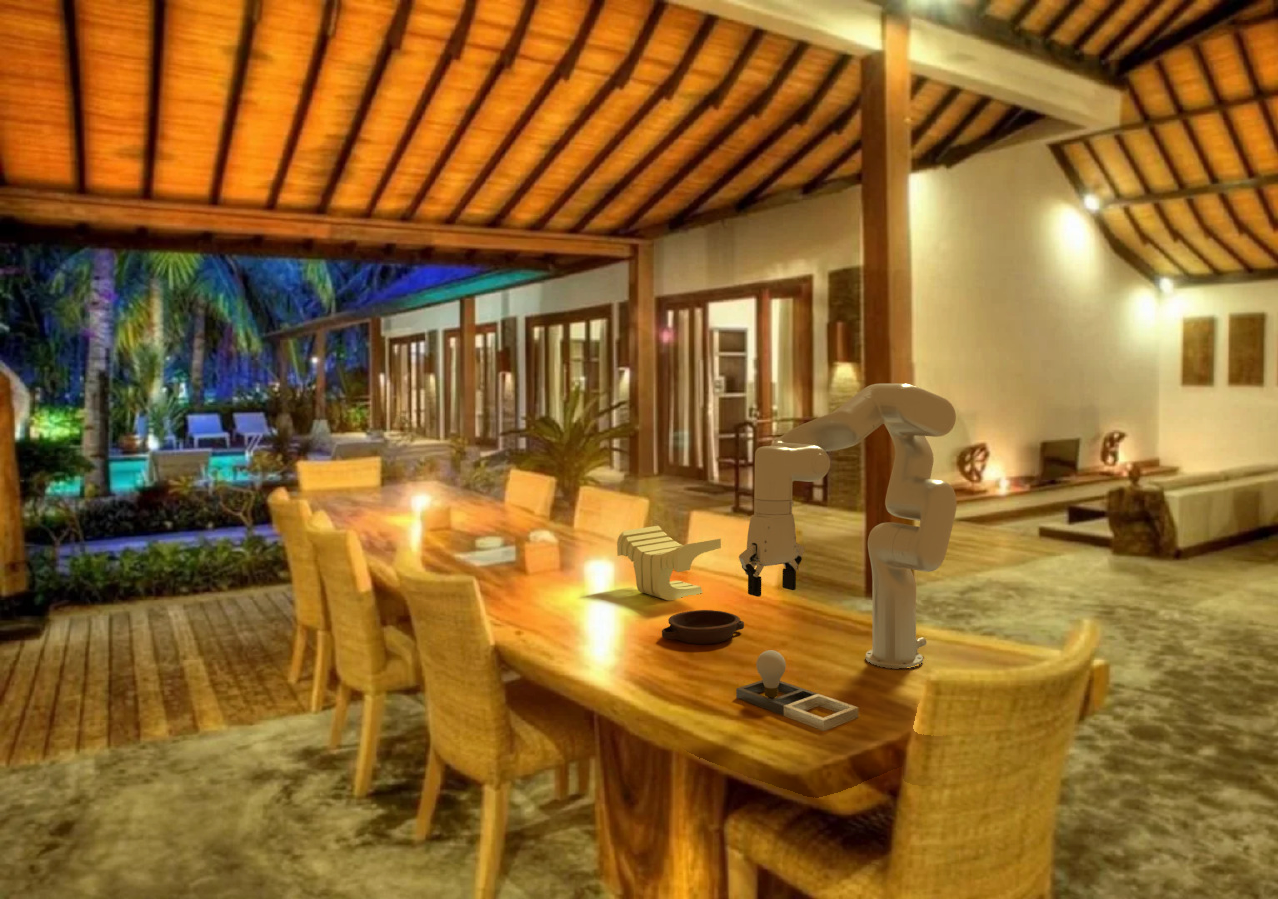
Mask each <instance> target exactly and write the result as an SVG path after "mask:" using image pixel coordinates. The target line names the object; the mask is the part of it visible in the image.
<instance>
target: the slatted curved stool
mask: <svg viewBox="0 0 1278 899" xmlns="http://www.w3.org/2000/svg"><path fill="white" fill-rule="evenodd" d="M721 543H722V539H721V538H716V539H712V540H711V539H710V540H704V541H698V542H692V543H686V544H682V543H679V542H678V541H676V540H674V539H673V538H671V537H670V536H668V534H667V533H666V532H665V531H663V529H662V528H661V526H659V525H654V526H647V527H646V526H645V527H641V528H634V529H626V530H624V531H622V532H621V533H620V534H619V535H618V537H617V541H616V545H617V547H616V549H617V557H619V556H622V557H623V556H624V557H627V558H628V559H629V561H630V562H631V563H632V562H633V569H634V570H633V571H634V574H635V581H636V587H637V590H638V592H640V593H644V594H646V595H649V596H653V597H656V598H659V599H662V600H666V601H675V600H678V599H677V598H679V599H682V598H681V597H684V596H688V595H694V596H697V595H696V594H699V595H701V594H700V593H704V592H703V590H702V587H701V586H700V585H696V584H693V583H689V582H686V581H685V582H684V581H681V580H672V581H670V579H671V576H672V573H673V571H676V572H677V573H682V572H687V571H691V567H692V563H693V562H694V560H695V559H696V558H697V557H699V556H700V555H702V554H704V553H708V552H711V551H715V550H718V549H721V548H722V546H721V545H722V544H721ZM684 598H685V597H684ZM674 599H675V600H674Z"/></svg>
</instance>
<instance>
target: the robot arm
mask: <svg viewBox="0 0 1278 899" xmlns="http://www.w3.org/2000/svg"><path fill="white" fill-rule="evenodd" d="M956 418H957V414H956V409H955V407H954V406H953V404H952V403H951V402H950V401H949V400H948V399H947V398H945V397H943V396H941V395H938V394H936V393H933V392H930V390H929V391H928V390H926V389H923V388H922V387H918V386H915V385H912V384H909V383H874V384H870V385H868V386H866V387H864V388H863V389H861V390H860V391H859V392H857V393H856V394H855V395H854V396H852V397H851V398H850V399H848V400H847V401H846V402H844V403H843V404H841V405H840V406H839V407H838V408H837V409H835V410H834V411H832V412H830V413H828V414H824V415H822V416H819V417H817V418H815V419H812V420H810V421H808V422H805V423H801V424H800V425H798V426H796V427H794V428H792V429H790V430H788V431H787V432H785V433H784V434H782V435H781V436H780V437H778V438H777V439H776V440H775V441H773V443H772V444H771V445H766V446H759V447H758V448H757V449H755V452H754V493H753V494H754V495H753V496H754V499H753V500H754V502H753V503H754V504H753V506H754V507H753V510H754V511H753V512H754V513H753V514H751V515H750V516H751V517H750V519H749V523H748V529H747V530H748V531H747V539H746V540H747V541H746V549H745V550H743V552H741V553H740V554H739V555H738V560H739V561H740V564H741V568H742V570H743V571H744V572H745V575H746V576H747V594H748V595H749V596H753V597H756V598H757V597H758V598H759V597H761V596H762V576H760V575H761V573H762V571H763V569H764V568H765V567H769V566H777V565H783V566H784V568H783V569H782V583H781V584H782V586H781V587H782V588H783V589H785V590H790V591H796V589H797V571H798V570H799V565H800V564H801V562H802V560H803V559H802V557H803V555H804V552H805V546H803V545H801V544H800V543H798V542H797V533H796V532H797V531H796V524H795V517H794V514H793V506H794V501H793V483H794V481H795V482H796V481H797V482H809V483H813V482H817V481H820V480H822V479H823V478H824V477H825V476H826V475H827V474H828V472H829V471H830V468H831V460H830V456H829V454H828V452H831V451H832V452H833V451H839V450H843V449H849V448H851V447H854V446H856V445H858V444H860V443H861V442H862V441H863V440H864V439H866V438H867V437H868V436H869V435H870V434H872V433H873V432H874V431H876V430H877V429H878V428H879V427H880V426H882V425H884V427H885V429H886V430H887V431H888V433H889V435H890V438H891V440H892V443H893V446H894V460H893V464H892V465H893V466H892V469H891V473H890V478H889V482H888V484H887V485H888V486H887V490H886V494H885V502H884V505H885V509H886V511H887V512H888V513H889V514H890V515H891V516H894V517H896V518H901V519H905V520H906V519H907V520H912V521H919V526H916V525H912V524H907V523H906V524H905V523H900V522H893V521H890V522H881V523H879V524H876V526H874V527H872V529H871V530H870V532H869V535H868V537H867V538H868V539H867V550H868V556H869V561H870V566H871V576H872V594H871V595H872V604H871V605H872V607H871V608H872V609H871V610H872V611H871V612H872V614H871V615H872V626H871V627H872V632H871V633H872V636H871V637H872V644H871V645H872V647H871V648H872V649H869V650H868V651H866V653H865V661H867V663H869V662H870V663H871V664H870V663H869V664H870V665H873V664H874V665H873V666H875V665H877V666H876V667H879V666H880V668H883V667H885V668H884V669H891V668H892V670H900V669H899V668H907V667H911V666H915V665H917V664H920V663H922V661H923V662H924V657H923V655H922V654H921V653H919V652H918V649H919V648H922V647H924V646H926V645H927V639H926V638H925V637H919V638H917V584H916V579H915V577H914V574H913V571H912V570H914V571H919V572H924V573H927V572H928V573H930V572H934V571H936V570H938V569H939V568H940V567H941V565H942V564H943V563H944V560H945V557H946V554H947V551H948V548H949V542H950V539H951V534H952V530H953V525H954V522H955V519H956V518H955V517H956V513H957V506H958V505H957V503H958V501H957V496H956V492H955V490H954V488H953V486H952V485H951V484H950V483H948V482H946V481H944V480H940V479H936V478H935V479H934V478H931V476H932V471H933V466H934V452H933V449H932V447H931V445H930V444H929V441H928V440H927V437H931V438H932V437H934V438H935V437H936V438H937V437H938V438H939V437H944V436H945V435H948V434H949V433H951V431H952V430H953V428H954V426H956V425H955V424H956V421H957V419H956ZM922 664H923V663H922Z"/></svg>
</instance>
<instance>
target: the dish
mask: <svg viewBox="0 0 1278 899" xmlns="http://www.w3.org/2000/svg"><path fill="white" fill-rule="evenodd" d="M667 620H668V621H667V622H668V624H669V626H668V627H665V628H663V629H661V637H662V638H663V639H667V640H679V641H680V642H683V643H687V644H694V645H695V644H697V645H710V644H712V645H713V644H718V643H722V642H725V641H728V640H729V639H730V638H732V637H733V636H734V633H735V632H737V631H740V630H743V629H744V628H745V622H744V621H743V620H741V619H740V617H739V616H738V615H736V614H733V613H730V612H727V611H722V610H713V609H697V610H687V611H683V612H679V613H676V614H674V615H673V614H672V615H671V616H670V617H669V618H668V619H667Z"/></svg>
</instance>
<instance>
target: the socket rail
mask: <svg viewBox="0 0 1278 899" xmlns="http://www.w3.org/2000/svg"><path fill="white" fill-rule="evenodd" d="M735 689H736V690H735V691H736V693H735V694H736V699H738V700H741V701H744V702H746V703H748V704H751V705H753V706H757V707H759V708H762V709H765V710H766V711H770V712H773V713H775V714H777V715H780V716H783V717H785V718H789V719H791V720H793V721H796V722H799V723H801V724H804V725H807V726H810V727H812V728H815V729H817V730H819V731H823V732H826V731H829V730H831V729H833V728H836V727H837V726H840V725H843V724H846V723H848V722H851V721H853V720H856V719H858V718H859V706H855V705H853V704H850V703H847V702H844V701H841V700H838V699H836V698H832V697H829V696H827V695H826V696H825V695H823V694H820V693H817V692H814V691H811V690H809V689H805V688H803V687H799V686H796V685H793V684H791V683H788V682H785V681H781V680H780V682H779V685H778V693H781V694H783V695H779V696H776V697H775V698H774V699H770V698H768V697H767V696H765V695H761V694H760V693H763V692H765V688H764V684H763V680H762V679H761V680H758V681H756V682H752V683H749V684H746V685H743V686H740V687H737V688H735ZM816 707H821V708H823V709H826V710H829V709H830V710H829V711H831V710H832V712H834V713H832V714H830V715H827V716H824V717H823V716H820V715H817V714H814V713H812V712H808V710H811V709H814V708H816Z"/></svg>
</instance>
